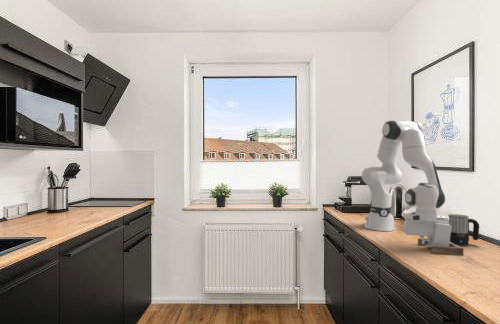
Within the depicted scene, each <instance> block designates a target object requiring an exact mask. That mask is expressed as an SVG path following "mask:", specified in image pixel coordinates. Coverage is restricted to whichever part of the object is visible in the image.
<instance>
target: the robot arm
mask: <svg viewBox="0 0 500 324" xmlns="http://www.w3.org/2000/svg"><path fill="white" fill-rule="evenodd" d="M381 131H382V132H381V133H382V136H381V140H380V143H379V147H378V151H377V156H376V157H377V159H378V160H379V161H380V162H382V165H381V166H371V167H365V168H364V169H363V171H362V172H361V179H362V180H363V182H364V184H366V185H367V186H368V189H369V191H370V193H371V195H370V196H371V205H370V212H369V214H368V215H367V216H365V218H364V219H365V221H366V222H363V226H364V229H365V230H366V229H367V230H372V231H379V232H391V231H392V232H393V231H396V230H397V228H396V226H395V224H394V223H395V222H394V219H395V218H394V215H393V214H392V207H391V205H392V201H391V200H392V197H391V193H390V192H388V191H387V190H386V189H385V187H384V185H396V184H399V183H400V182H402V179H403V178H402V177H403V173H402V171H401V170H400V168H398V164H397V163H398V162H397V158H398V155H399V151H400V147H401V150H402V151H401V152H402V158H403V160H404V162H406V163H407V164H408V165H410V166H412V167H415V168H417V169H418V170H419V169H420V170H421V171H422V172H424V174H425V176H426V179H427V182H419V183H418V184H417V185H416V186H415V187H413V188H408V189H407V190H406V192H405V194H404V201H405V203H406V204H407V205H408V206H409V207H413V208H414V207H416V209H415V211H412V212H409V213H408V212H407V213H406V214H405V220H404V222H403V227H402V229H403V230H402V232H403V233H404V234H405V235H408V236H419V239H421V240H422V244H426V245H425V246H427V245H429V241H430V240H431V238H432V236H433V232H434V224H435V223H439V224H447V225H449V218H448V217H446V216H438V215H437V214H438V212H437V210H438V209H440V208H441V207H442V206H443V205H444V204H445V202H446V196H445V193H444V191H443V189H442V186H441V182H440V179H439V175H438V171H437V167H436V164H435V162H434V160H433V159H432V158H431V157H430V156H429V155H428V154H427V150H426V143H425V137H424V127H423V125H422V123H419V122H417V121H409V120H389V121H388V120H387V121H386V122H384V123H383V126H382V130H381ZM425 236H426V239H427V240H424V239H425ZM427 237H428V238H427Z"/></svg>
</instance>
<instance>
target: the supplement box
mask: <svg viewBox="0 0 500 324" xmlns="http://www.w3.org/2000/svg"><path fill="white" fill-rule="evenodd" d="M451 227H452V226H451V225H449V224H448V225H447V224H439V223H435V224H434V232H433V236H432V238H431V240H430V241H429V245H426V246H427V247H428V248H430V249H431V246H438V247H449V244H450V235H451ZM427 238H428V237H427V236H426V239H427Z"/></svg>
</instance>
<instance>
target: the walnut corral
mask: <svg viewBox="0 0 500 324" xmlns="http://www.w3.org/2000/svg"><path fill="white" fill-rule="evenodd" d="M424 240H427V238H424ZM417 245H418V246H427V245H426V244H422V240H421V238H420V237H419V238H417ZM430 253H431V254H433V255H436V254H437V255H456V256H457V255H458V256H463V255H464V254H465V251H464V247H461V245H455V244H453V243H451V242H450V244H449V247H438V246H431V248H430Z"/></svg>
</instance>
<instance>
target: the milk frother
mask: <svg viewBox="0 0 500 324" xmlns="http://www.w3.org/2000/svg"><path fill="white" fill-rule="evenodd" d="M469 217H470V216H468V215H465V214H457V213H456V214H453V213H452V214H451V213H449V214H448V220H449V224H448V225H451V226H452V227H451V235H450V242H451V243H453V244H455V245H457V246H468V245H469V244H470V243H469V242H470V224H472V225H473V227H472V239H473V240H474V241H478V240H479V236H480V235H479V233H480V223H479V222H478V221H477V220H476V219H474V218H469Z"/></svg>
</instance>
